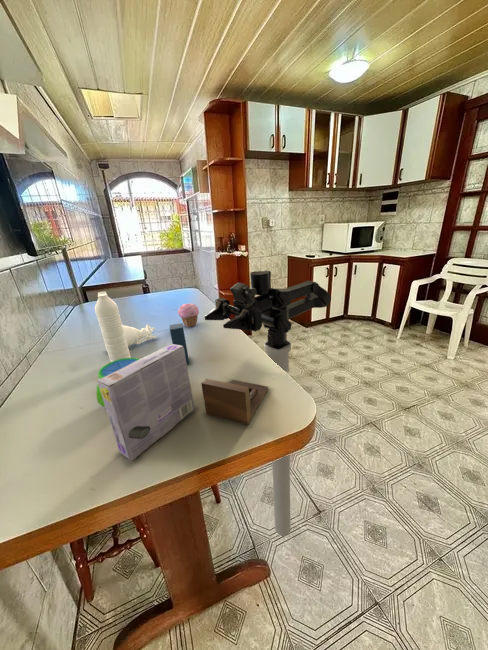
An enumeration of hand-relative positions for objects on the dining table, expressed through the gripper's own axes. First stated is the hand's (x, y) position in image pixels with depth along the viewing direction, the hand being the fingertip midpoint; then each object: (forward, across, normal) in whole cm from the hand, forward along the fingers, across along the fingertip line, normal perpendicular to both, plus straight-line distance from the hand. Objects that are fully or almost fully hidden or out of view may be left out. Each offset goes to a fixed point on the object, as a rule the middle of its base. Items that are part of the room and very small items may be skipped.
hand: (213, 322), depth 74 cm
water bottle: (+20, -29, +16) cm, 39 cm away
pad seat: (+5, +14, +17) cm, 22 cm away
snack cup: (+25, -7, +16) cm, 31 cm away
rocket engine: (+12, -40, +17) cm, 46 cm away
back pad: (+5, -15, +17) cm, 23 cm away
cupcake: (-14, -42, +17) cm, 47 cm away
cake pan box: (+23, +9, +16) cm, 30 cm away
